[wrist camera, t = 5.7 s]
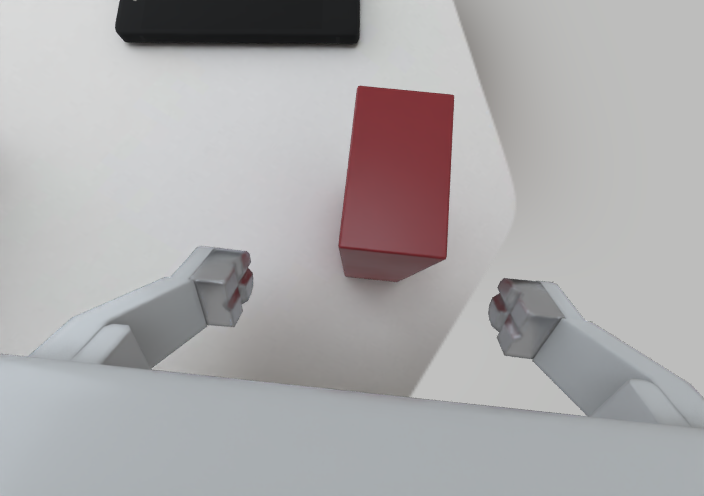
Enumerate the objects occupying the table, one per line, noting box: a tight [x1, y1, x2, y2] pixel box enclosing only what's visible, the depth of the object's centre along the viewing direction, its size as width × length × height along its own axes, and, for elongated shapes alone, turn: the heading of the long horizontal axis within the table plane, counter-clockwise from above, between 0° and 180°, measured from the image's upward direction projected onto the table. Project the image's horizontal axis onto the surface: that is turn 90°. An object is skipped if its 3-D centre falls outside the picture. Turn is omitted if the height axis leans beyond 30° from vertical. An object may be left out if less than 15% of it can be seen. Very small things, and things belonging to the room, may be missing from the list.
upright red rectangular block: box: [338, 86, 454, 282], centre depth 15 cm, size 6×4×10 cm, turn 174°
